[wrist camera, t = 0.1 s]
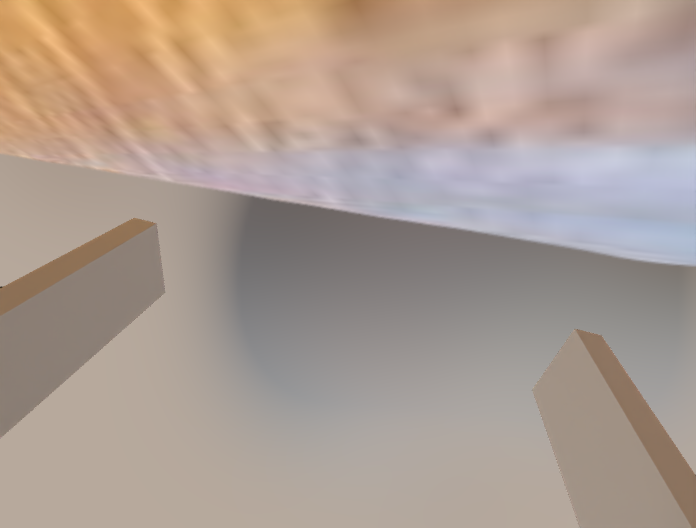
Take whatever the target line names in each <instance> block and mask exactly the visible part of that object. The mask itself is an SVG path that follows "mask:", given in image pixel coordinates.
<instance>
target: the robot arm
mask: <svg viewBox="0 0 696 528" xmlns="http://www.w3.org/2000/svg"><path fill="white" fill-rule="evenodd" d="M164 287H165V286H164V279H163V271H162V263H161V256H160V247H159V240H158V231H157V224H156V223H153V222H149V221H145V220H141V219H136V218H133V219H131V220H129V221H127V222H126V223H123V224H122V225H120V226H118V227H116V228H114V229H112V230H110V231H108V232H107V233H105V234H103V235H101V236H99V237H97V238H95V239H93V240H91V241H89V242H87V243H85V244H84V245H82V246H80V247H78V248H76V249H74V250H72V251H70V252H68V253H67V254H65V255H63V256H61V257H59V258H57V259H55V260H53V261H52V262H49V263H48V264H46V265H44V266H42V267H40V268H38V269H36V270H34V271H33V272H30V273H29V274H27V275H25V276H23V277H21V278H19V279H17V280H15V281H13V282H12V283H10V284H8V285H6V286H4V287H0V438H1V437H2V436H4V435H5V434H6V433H7V432H8V431H9V430H10V429H11V428H13V427H14V426H15V425H16V424H17V423H18V422H19V421H20V420H22V419H23V418H24V417H25V416H26V415H27V414H28V413H30V411H32V410H33V409H34V408H35V407H36V406H37V405H39V404H40V403H41V402H42V401H43V400H44V399H45V398H46V397H48V396H49V395H50V394H51V393H52V392H53V391H54V390H55V389H56V388H58V387H59V386H60V385H61V384H62V383H63V382H65V381H66V380H67V379H68V378H69V377H70V376H71V375H73V374H74V373H75V372H76V371H77V370H78V369H79V368H80V367H82V366H83V365H84V364H85V363H86V362H87V361H88V360H89V359H91V358H92V357H93V356H94V355H95V354H96V353H97V352H99V351H100V350H101V349H102V348H103V347H104V346H105V345H106V344H108V343H109V342H110V341H111V340H112V339H113V338H114V337H115V336H117V335H118V334H119V333H120V332H121V331H122V330H123V329H125V328H126V327H127V326H128V325H129V324H130V323H131V322H132V321H134V320H135V319H136V318H137V317H138V316H139V315H140V314H142V313H143V312H144V311H145V310H146V309H147V308H148V307H149V306H151V305H152V304H153V303H154V302H155V301H156V300H157V299H159V298H160V297H161V296H162V295H163V294H164V293H165V288H164ZM532 391H533V394H534V396H535V399H536V402H537V405H538V408H539V411H540V414H541V417H542V420H543V422H544V426H545V428H546V431H547V434H548V437H549V440H550V443H551V446H552V449H553V452H554V454H555V457H556V460H557V463H558V466H559V469H560V471H561V474H562V478H563V481H564V483H565V486H566V489H567V492H568V495H569V498H570V501H571V504H572V506H573V510H574V512H575V515H576V518H577V521H578V524H579V527H580V528H696V475H695V474H694V472H693V471H692V469H691V468H690V466H689V465H688V463H687V462H686V460H685V459H684V457H683V456H682V454H681V453H680V451H679V450H678V448H677V447H676V445H675V444H674V442H673V441H672V440H671V438H670V437H669V435H668V434H667V432H666V431H665V429H664V428H663V426H662V425H661V423H660V422H659V420H658V419H657V417H656V416H655V414H654V413H653V412H652V410H651V408H650V407H649V405H648V404H647V403H646V401H645V400H644V398H643V397H642V395H641V393H640V392H639V391H638V389H637V388H636V386H635V385H634V383H633V382H632V380H631V379H630V377H629V376H628V374H627V373H626V371H625V370H624V368H623V367H622V365H621V364H620V362H619V361H618V359H617V358H616V356H615V355H614V353H613V352H612V350H611V349H610V347H609V346H608V344H607V343H606V342H605V340H604V339H603V337H602V336H601V335H598V334H594V333H590V332H586V331H582V330H578V329H574V331H573V332H572V333H571V335H570V336H569V338H568V339H567V341H566V342H565V344H564V345H563V346H562V348H561V349H560V351H559V352H558V353H557V355H556V356H555V358H554V359H553V361H552V362H551V364H550V365H549V366H548V368H547V369H546V371H545V372H544V374H543V375H542V376H541V378H540V380H539V381H538V382H537V384H536V385H535V387H534V388H533V389H532Z"/></svg>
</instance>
